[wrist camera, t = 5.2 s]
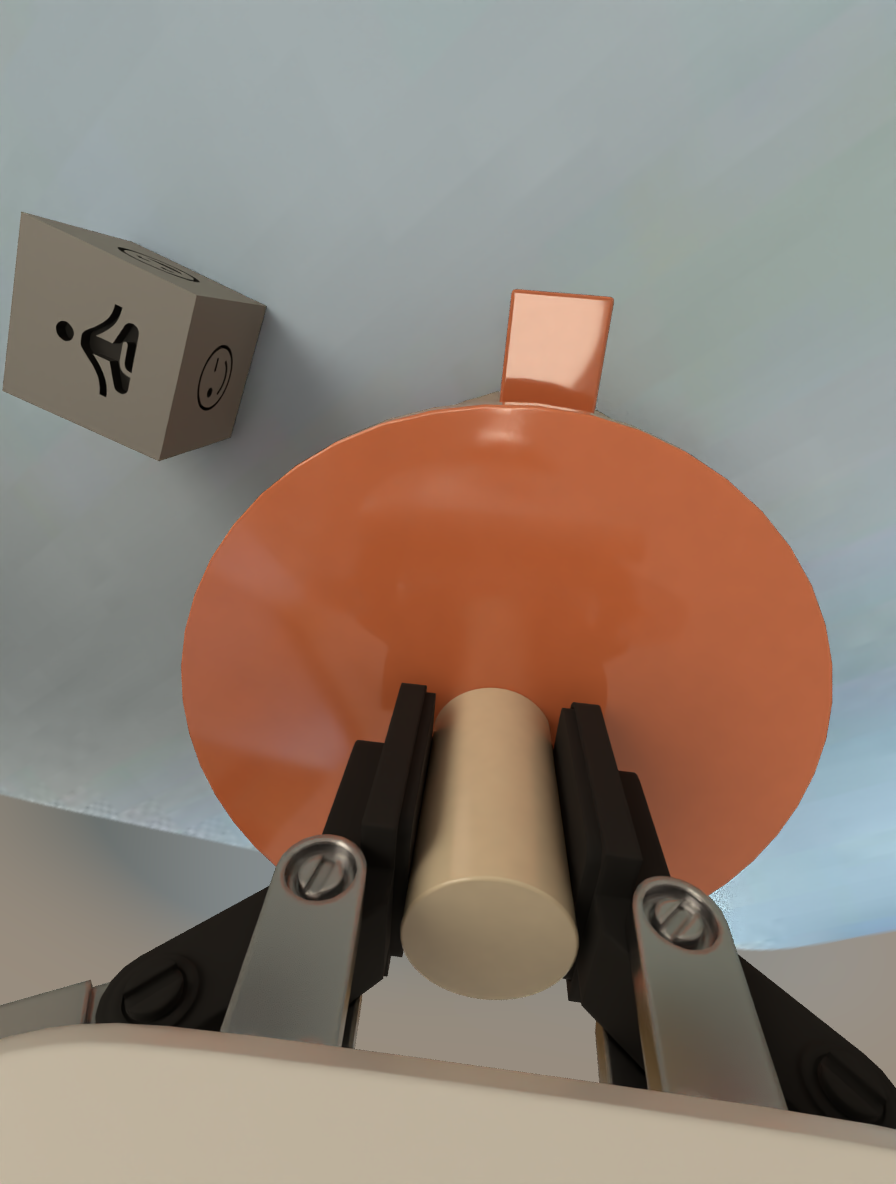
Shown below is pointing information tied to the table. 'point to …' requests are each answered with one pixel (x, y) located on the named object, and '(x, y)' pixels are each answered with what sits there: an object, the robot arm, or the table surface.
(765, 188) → the table surface
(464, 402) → the pot
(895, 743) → the table surface
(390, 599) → the lid
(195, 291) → the dice cube
